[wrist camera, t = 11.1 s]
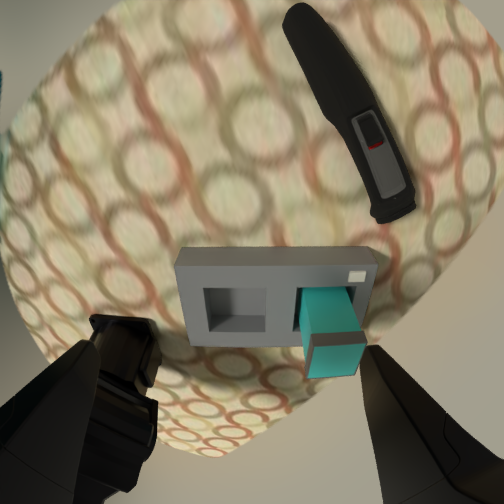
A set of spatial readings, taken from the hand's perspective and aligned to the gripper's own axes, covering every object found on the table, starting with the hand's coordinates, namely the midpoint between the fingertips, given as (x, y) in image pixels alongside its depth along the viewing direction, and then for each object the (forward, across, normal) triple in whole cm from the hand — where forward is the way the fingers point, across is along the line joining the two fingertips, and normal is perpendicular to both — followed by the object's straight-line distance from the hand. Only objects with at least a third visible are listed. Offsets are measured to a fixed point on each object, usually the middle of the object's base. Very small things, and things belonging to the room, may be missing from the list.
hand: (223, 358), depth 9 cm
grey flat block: (+13, -2, +8) cm, 15 cm away
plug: (+12, -6, +7) cm, 16 cm away
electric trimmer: (+14, -7, -6) cm, 16 cm away
